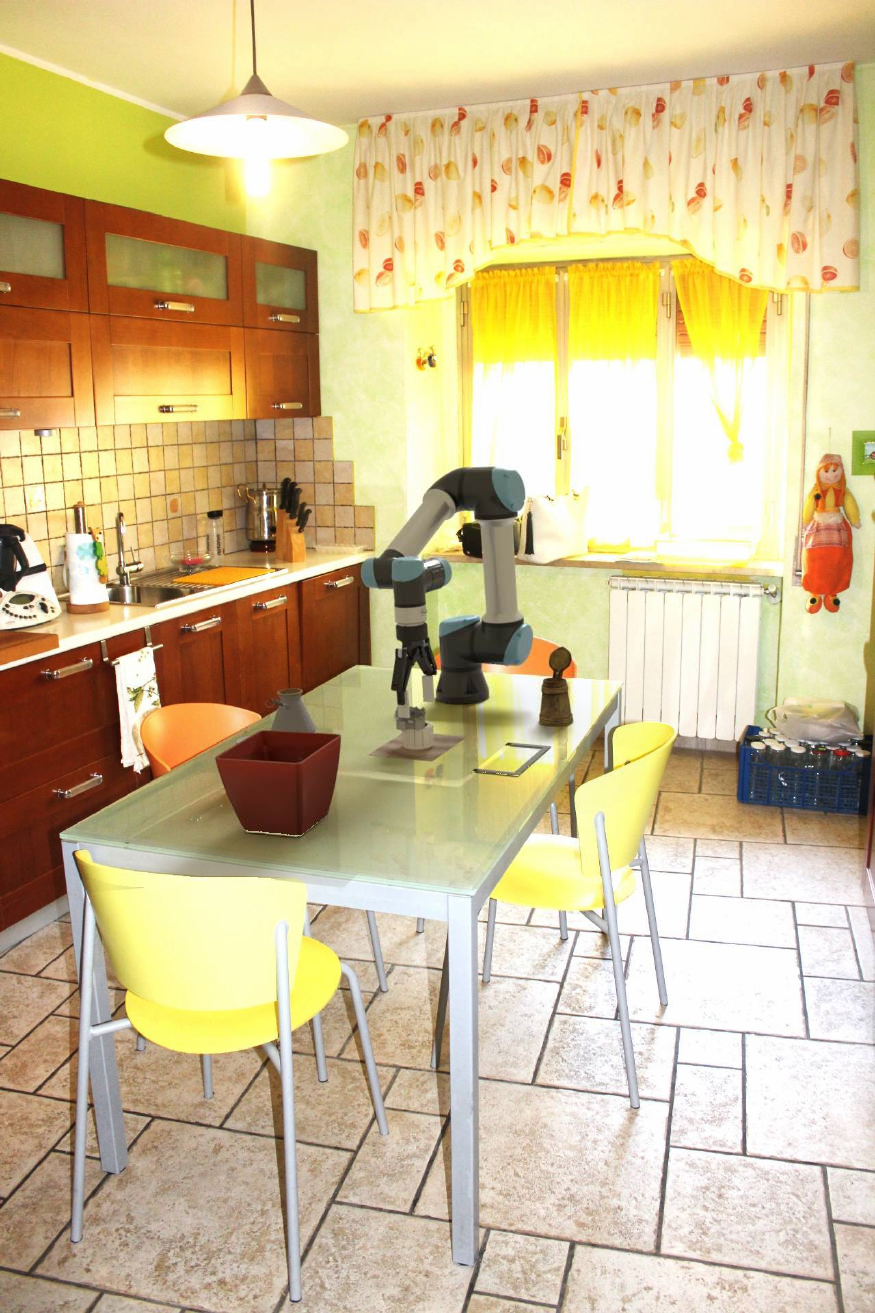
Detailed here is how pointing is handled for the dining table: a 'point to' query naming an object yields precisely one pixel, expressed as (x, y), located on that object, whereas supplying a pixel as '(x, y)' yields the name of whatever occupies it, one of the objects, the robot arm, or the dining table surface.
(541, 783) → the dining table surface
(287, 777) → the plant pot
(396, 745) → the walnut board
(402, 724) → the egg carton
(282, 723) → the coffee pot
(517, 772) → the mat border
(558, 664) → the wooden mug
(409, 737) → the cream hollow cylinder
